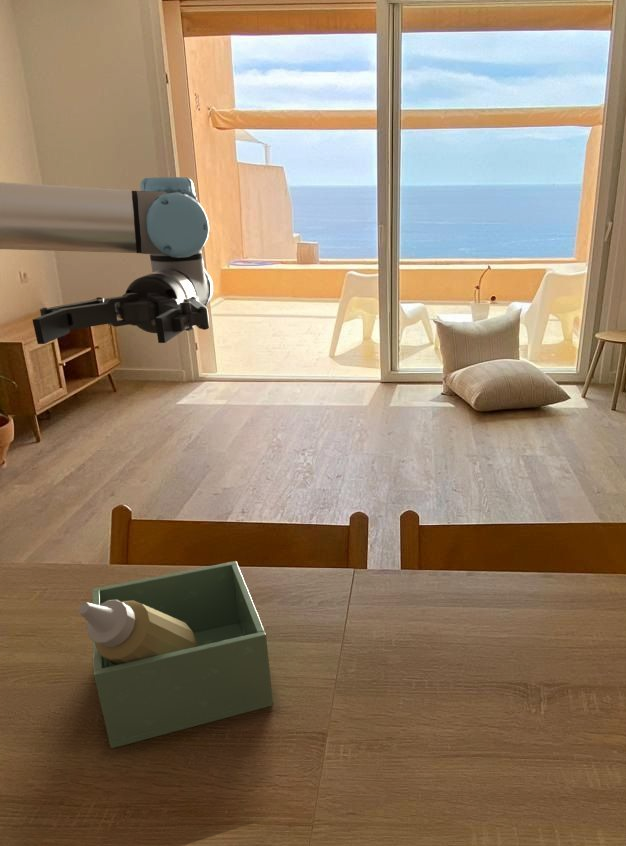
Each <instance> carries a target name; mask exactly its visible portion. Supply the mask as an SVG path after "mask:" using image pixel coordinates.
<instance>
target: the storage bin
mask: <svg viewBox="0 0 626 846" xmlns="http://www.w3.org/2000/svg"><path fill="white" fill-rule="evenodd" d="M91 590H92V593H91V594H92V595H91V596H92V604H95V605H100V604H102V603H104V602H106V601H108V600H118V601H120V602H123V601H132V600H134V601H136V602H139V603H141V604H144V605H146V606H148V607H150V608H153V609H155V610H157V611H160V612H162V613H164V614H166V615H169V616H171V617H173V618H175V619H178V620H180V621H182V622H185V623H186V624H187V625H188V626H189V628H190V629H191V630H192V631H193V633H194V636H195V638H196V640H197V642H198V644H199V646H198V647H193V648H189V649H185V650H180V651H176V652H172V653H167V654H163V655H158V656H154V657H150V658H145V659H141V660H137V661H132V662H128V663H124V664H119V665H114V664H113V663H111V662H110V661H108V660H107V659H106V658H104V657H103V656H101V654H100V653H99V651H98V650H97V649H96V645H95V642H94V641H92V647H93V649H92V650H93V652H92V653H93V677H94V681H95V685H96V690H97V694H98V699H99V703H100V708H101V712H102V716H103V719H104V724H105V729H106V733H107V737H108V742H109V746H110V749H114V748H119V747H123V746H126V745H129V744H133V743H134V744H135V743H138V742H141V741H145V740H148V739H153V738H156V737H160V736H164V735H167V734H172V733H175V732H179V731H183V730H187V729H190V728H193V727H196V726H197V727H198V726H201V725H205V724H208V723H212V722H216V721H220V720H224V719H227V718H231V717H235V716H239V715H242V714H246V713H250V712H253V711H257V710H261V709H265V708H268V707H273V706H274V698H273V697H274V696H273V688H272V678H271V669H270V660H269V649H268V639H267V634H266V632H265V629H264V626H263V624H262V621H261V619H260V616H259V613H258V611H257V609H256V606H255V604H254V601H253V599H252V596H251V594H250V591H249V588H248V587H247V584H246V581H245V579H244V577H243V574H242V572H241V569H240V566H239V564H238V561H236V560H234V561H229V562H223V563H219V564H218V563H217V564H213V565H208V566H203V567H199V568H193V569H187V570H183V571H176V572H173V573H167V574H162V575H156V576H152V577H146V578H141V579H137V580H132V581H131V580H130V581H127V582H126V581H125V582H121V583H116V584H111V585H106V586H105V585H104V586H101V587H94V588H92V589H91Z"/></svg>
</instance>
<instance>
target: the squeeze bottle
mask: <svg viewBox="0 0 626 846" xmlns="http://www.w3.org/2000/svg"><path fill="white" fill-rule="evenodd" d="M77 610H78V613H79V614H80V615H81V616H82V617H83V618H84V620H86V622H87V625H86V631H87V636H88V638H90V640H91V641H92V642H93V641H94V642H95V645H96V649H97V650H98V651H99V653H100V654H101V656H103V657H104V658H106V659H107V660H108V661H110V662H111V663H113V664H114V665H119V664H124V663H128V662H132V661H137V660H141V659H145V658H150V657H154V656H158V655H163V654H167V653H172V652H176V651H180V650H185V649H189V648H193V647H198V646H199V644H198V642H197V640H196V638H195V636H194V633H193V631H192V630H191V629H190V628H189V626H188V625H187V624H186V623H185V622H182V621H180V620H178V619H175V618H173V617H171V616H169V615H166V614H164V613H162V612H160V611H157V610H155V609H153V608H150V607H148V606H146V605H144V604H141V603H139V602H136V601H134V600H132V601H123V602H120V601H118V600H108V601H106V602H104V603H102V604H100V605H95V604H93V603H90V602H82V603H81V604H80V605H79V606H78V609H77Z"/></svg>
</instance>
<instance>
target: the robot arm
mask: <svg viewBox="0 0 626 846" xmlns="http://www.w3.org/2000/svg"><path fill="white" fill-rule="evenodd" d="M139 186H140V188H139V189H140V190H132V189H120V188H119V189H118V188H104V187H103V188H102V187H89V186H88V187H86V186H84V187H83V186H70V185H69V186H68V185H54V184H53V185H52V184H37V183H21V182H3V181H0V250H13V251H14V250H15V251H18V250H19V251H46V252H47V251H51V252H81V253H82V252H85V253H112V254H113V253H114V254H115V253H117V254H141V255H149V258H150V266H151V272H149V273H148V274H145V275H142V276H140V277H137V278H136V279H134V280H133V281H131V282H130V284H129V285H128V286H127V288H126V290H125V293H124V294H122V295H120V296H112V297H108V298H106V297H101V296H97V297H96V298H92V299H89V300H84V301H77V302H72V303H66V304H60V305H55V306H50V307H41V308H40V309H39V312H40V316H38V317H35V318H33V319H32V320H31V321H32V324H33V329H34V334H35V338H36V343H37V345H45V344H47V343H50V342H52V341H54V340H57V339H59V338H65V337H66V335H68V334H70V333H71V331H73V330H78V329H83V328H84V329H85V328H91V327H97V326H104V325H108V326H110V327H115V328H117V327H121V326H123V327H124V326H128V325H129V326H134V327H135V326H136V327H137V328H138V329H140V330H141V331H143V332H147V333H151V334H156V336H157V337H156V338H157V341H158V344H166V343H167V342H168V341H170V340H172V339H173V338H175V337H176V336H178V335H180V334H181V333H182V332H184V331H187V332H190V331H191V330H194V326H195V327H197V328H198V329H200V330H203V331H205V330H209V329H210V320H209V319H210V318H209V312H208V306H207V305H208V303H210V301H211V299H212V296H213V292H214V284H213V280H212V278H211V276H210V274H209V273H208V271H207V270H206V269H205V264H204V257H203V253H202V249H203V248H204V246H205V245H206V243H207V241H208V238H209V234H210V233H209V232H210V224H209V219H208V216H207V213H206V211H205V209H204V207H203V206H202V205H201V203H200V202H199V200H198V197H197V196H196V192H195V185H194V182H193V180H192V179H191V178H189V177H187V176H186V177H185V176H179V177H178V176H172V177H171V176H168V177H167V176H166V177H163V176H162V177H144V178H143V179H142V180H141V181H140V184H139ZM118 318H119V319H118Z"/></svg>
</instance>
